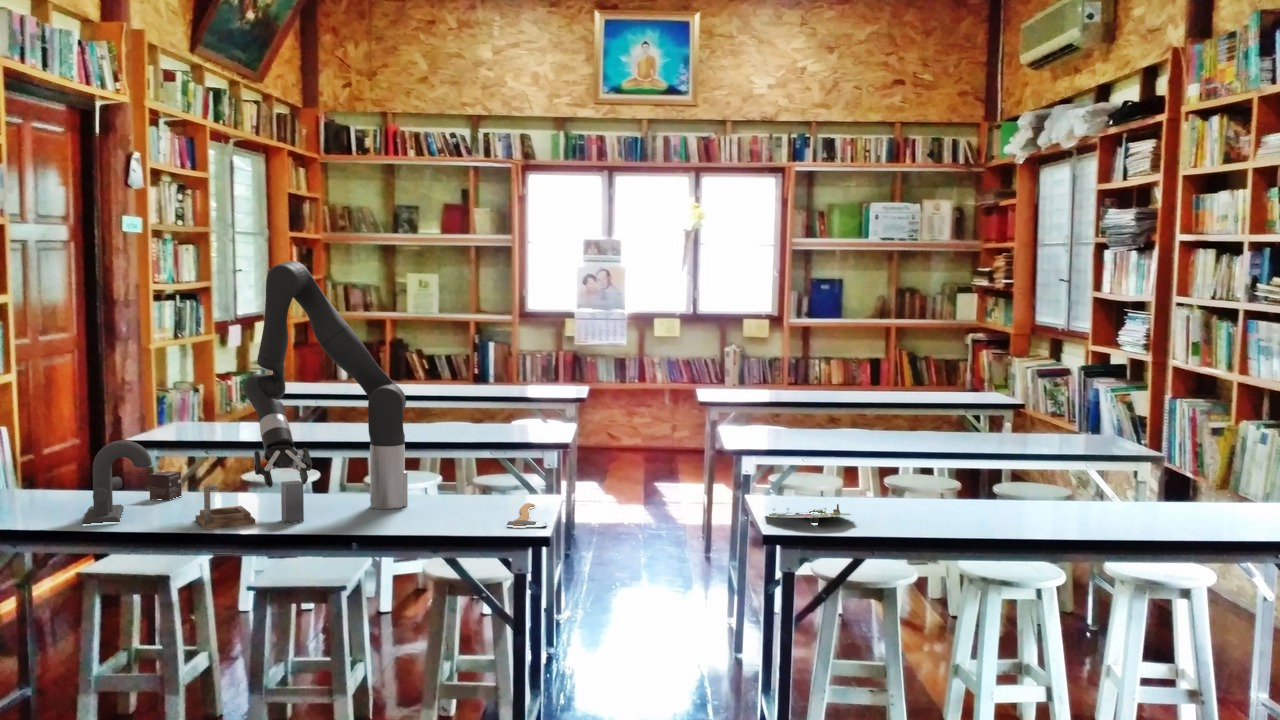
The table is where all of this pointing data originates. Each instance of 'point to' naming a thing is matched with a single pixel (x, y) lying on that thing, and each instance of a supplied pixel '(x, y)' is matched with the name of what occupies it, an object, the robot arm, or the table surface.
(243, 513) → the keeper
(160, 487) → the box
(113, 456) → the faucet
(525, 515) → the tan hook stand
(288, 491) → the grey upright tablet
